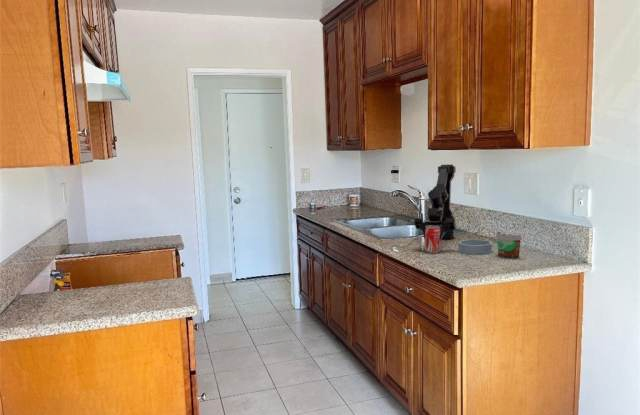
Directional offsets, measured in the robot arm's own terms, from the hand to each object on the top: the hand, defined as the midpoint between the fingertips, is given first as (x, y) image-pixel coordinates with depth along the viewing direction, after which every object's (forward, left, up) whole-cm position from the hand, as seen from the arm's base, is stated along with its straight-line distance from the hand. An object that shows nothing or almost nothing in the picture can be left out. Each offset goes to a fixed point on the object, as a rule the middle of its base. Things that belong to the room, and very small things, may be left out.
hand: (432, 238), depth 227 cm
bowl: (+11, +16, -7) cm, 21 cm away
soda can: (-1, +1, -7) cm, 7 cm away
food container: (+27, +16, -7) cm, 32 cm away
